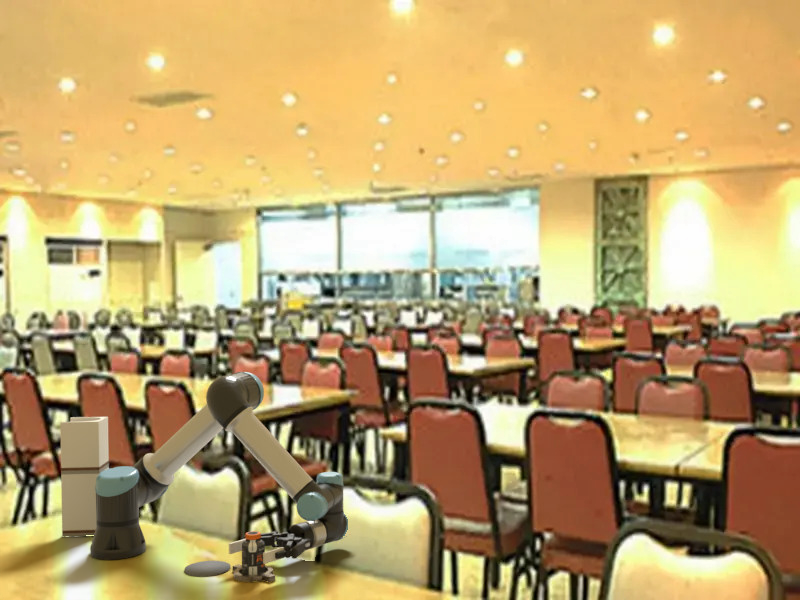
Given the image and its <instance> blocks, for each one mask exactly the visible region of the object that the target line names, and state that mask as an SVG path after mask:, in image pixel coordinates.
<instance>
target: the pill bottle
mask: <svg viewBox="0 0 800 600" xmlns="http://www.w3.org/2000/svg"><path fill="white" fill-rule="evenodd" d="M261 533H262V532H260V531H256V530H253V531H248V532H246V533H245V534H244V536H245V538H246V540H245V541H244V542H243V543H242V551H241V565H242V574H244V575H259V574H263V573H265V565H266V564H264V563H263V553H264V552H266V546H265V543H264V541H263V540H261Z"/></svg>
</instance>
